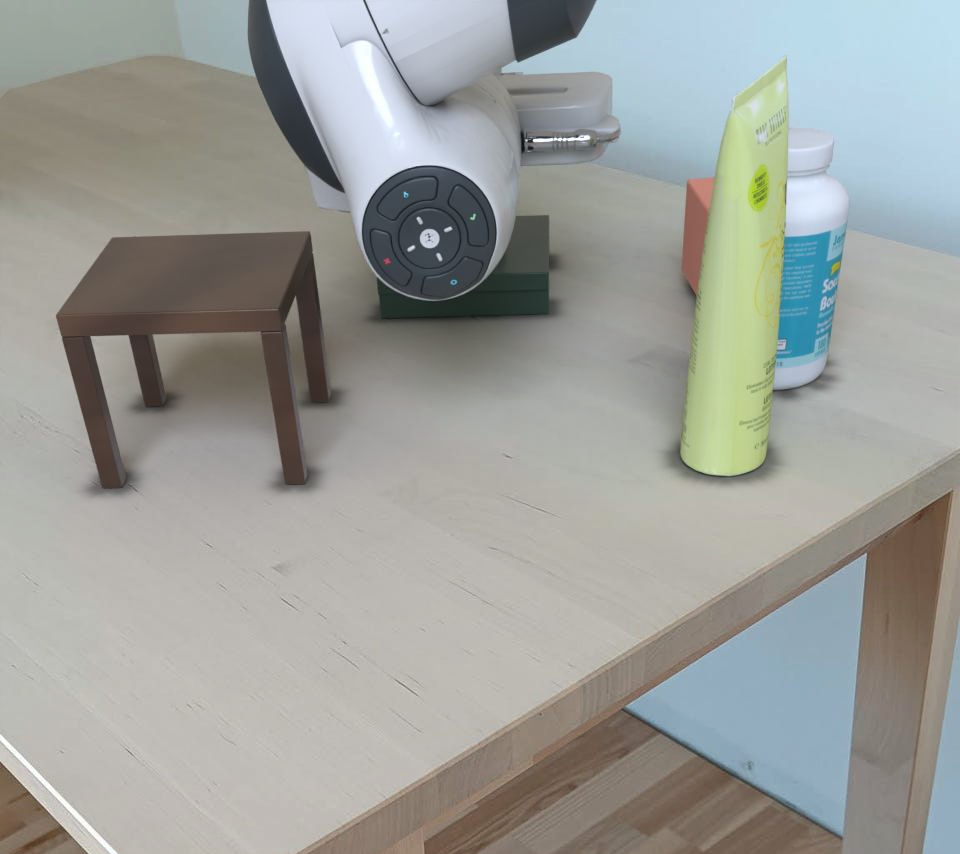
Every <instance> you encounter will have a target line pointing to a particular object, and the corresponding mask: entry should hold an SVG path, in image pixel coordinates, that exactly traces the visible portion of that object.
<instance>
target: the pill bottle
mask: <svg viewBox="0 0 960 854" xmlns="http://www.w3.org/2000/svg"><path fill="white" fill-rule="evenodd" d="M834 145H835V138H834V136H833V135H832V134H830V133H828V132H825V131H822V130H818V129H813V128H805V127H788V167H787V197H786V225H785V244H784V259H783V275H782V290H781V304H780V317H779V331H778V342H777V354H776V365H775V376H774V386H773V391H779V390H780V391H781V390H788V389H795V388H798V387H802V386H805V385H807V384H810V383H811V382H813V381H815V380H816V379H817V378H818V377H819V376H820V375H821V374H822V373H823V372H824V370H825V368H826V366H827V365H826V364H827V362H828V355H829V349H830V344H831V343H830V342H831V337H832V328H833V321H834V314H835V308H836V301H837V294H838V288H839V287H838V286H839V281H840V273H841V269H842V267H841V266H842V260H843V253H844V247H845V239H846V234H847V227H848V222H849V214H850V198H849V194H848V191H847V189H846V188H845V186H844V184H842V182H841V181H840V180H838V179H837V178H835V177H834V176H832V175H830V174H828V173H827V170H828V169H829V168H830V166H831V163H832V162H833V156H834V148H835V147H834Z"/></svg>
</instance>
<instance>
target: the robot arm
mask: <svg viewBox="0 0 960 854" xmlns="http://www.w3.org/2000/svg"><path fill="white" fill-rule="evenodd" d="M597 1H598V0H248V10H247V43H248V44H247V45H248V50H249V56H250V61H251V65H252V68H253V73H254V74H255V75H254V76H255V77H256V81H257V83H258V85H259V88H260V91H261V93H262V95H263V97H264V100H265V102H266V105H267V106H268V108H269V111H270V113H271V115H272V117H273V119H274V121H275V122H276V125H277V126H278V128H279V130H280V132H281V133H282V135H283V136H284V138H285V140H286V142H287V143H288V144H289V146H290V147H291V149H292V150H293V152H294V153H295V155H296V156H297V157H298V159H299V160H300V161H301V163H302V164H303V167H304V172H305V174H306V176H307V178H308V181H309V186H310V190H311V194H312V197H313V201H314V205H315V206H316V207H317V208H319V209H322V210H326V211H327V210H329V211H337V212H342V213H350V218H351V223H352V228H353V233H354V237H355V240H356V243H357V245H358V248H359V250H360V253H361V255H362V256H363V258H364V260H365V263H366V264H367V266H368V267H369V268H370V271H372V273H373V274H374V275H375V276H376V278H377V277H378V278H379V279H380V280H381V281H382V282H383V283H384V284H385V285H387V286H388V287H390V288H391V289H393V290H395V291H396V292H398V293H401V294H403V295H405V296H408V297H411V298H415V299H420V300H427V301H439V300H446V299H451V298H454V297H457V296H460V295H463V294H465V293H467V292H469V291H470V290H472V289H474V288H475V287H477V286H478V285H479V284H480V283H481V282H483V281H484V280H485V279H486V278H487V277H488V276H489V274H490V273H491V272H492V271H493V270H494V269H495V267H496V266H497V264H498V263H499V262H500V260H501V258H502V257H503V255H504V253H505V251H506V249H507V246H508V244H509V242H510V238H511V235H512V232H513V228H514V223H515V219H516V216H517V212H518V204H519V195H520V194H519V193H520V181H519V180H520V174H521V167H536V166H539V167H540V166H566V165H567V166H568V165H578V164H579V165H580V164H585V163H591V162H593V161H596V160H598V159H599V158H600V157H602V156H603V154H604V153H605V152H606V150H607V148H608V146H609V144H615V143H617V142H618V141H619V140H620V136H621V134H622V129H621V124H620V120H619V118H617V117H616V116H614V115H613V77H612V76H611V75H609V74H607V73H604V72H599V71H578V72H576V71H575V72H556V73H555V72H554V73H529V74H527V73H526V74H524V72H523V71H517V72H515V71H514V72H513V71H512V72H502V75H501V76H494V75H493V74H492V73H493V72H495V71H497V70H499V69H501V68H502V69H503V68H504V67H506V66H508V65H510V64H511V63H513V62H515V61H516V62H517V63H521V62H523V61H525V60H528V59H529V58H533V57H535V56H537V55H539V54H542V53H544V52H546V51H548V50H549V51H550V50H551V49H553V48H556V47H558V46H560V45H562V44H565V43H567V42H569V41H570V42H571V41H572V40H575V39H576V38H578V36H579V35H580V33H581V31H582V30H583V28H584V27H585V25H586V23H587V21H588V19H589V17H590V15H591V13H592V11H593V9H594V7H595V5H596V2H597Z"/></svg>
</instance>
